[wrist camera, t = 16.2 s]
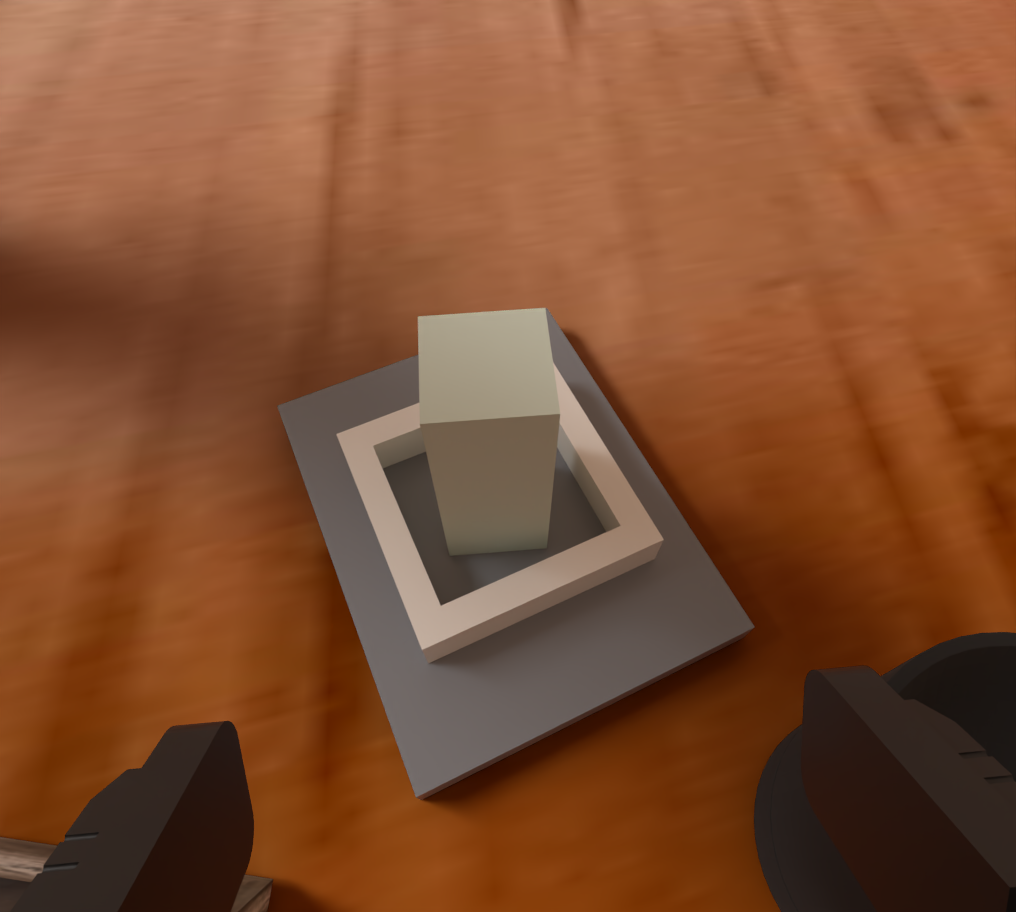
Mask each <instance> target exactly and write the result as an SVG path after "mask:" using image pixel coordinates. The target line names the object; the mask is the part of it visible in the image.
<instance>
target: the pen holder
mask: <svg viewBox="0 0 1016 912" xmlns="http://www.w3.org/2000/svg"><path fill="white" fill-rule="evenodd" d="M881 678H882V679H883V680H884V681H885V682H886V683H887V684H888V685H889V686H890V687H891V688H892V689H893V690H894V691H895V692H896V693H897V694H898V695H899V696H900V697H901V698H902V699H904V700H911V699H915V700H917V701H919V702H920V703H922V704H924V705H926V706H928V707H929V708H931V709H933V710H935V711H937V712H938V713H940V714H942V715H944V716H946V717H947V718H949V719H951V720H953V721H955V722H956V723H957V724H958V725H959V726H960V727H961V728H962V729H963V730H964V731H966V732H967V733H968V734H969V735H970V736H971V737H972V738H973V739H974V740H975V741H976V742H977V743H979V744H980V745H981V746H982V747H983V748H984V749H985V750H986V754H987V756H988V757H990V756H993V757H994V758H995V759H996V760H997V761H998V762H999V763H1000V764H1001V765H1002V766H1003V767H1004V768H1006V769H1007V770H1008V771H1009V772H1010V773H1011V774H1012V776H1013V779H1014V781H1015V782H1016V633H1009V632H997V633H979V634H973V635H967V636H961V637H958V638H955V639H952V640H949V641H946V642H943V643H940V644H938V645H936V646H934V647H932V648H930V649H928V650H926V651H924V652H922V653H920V654H918V655H917V656H915V657H913V658H911V659H910V660H908V661H906V662H904V663H903V664H901V665H899V666H898V667H896V668H894V669H893V670H891V671H889V672H887V673H886V674H884V675H882V676H881ZM801 743H802V725H800V726H799V727H798V728H796V729H795V730H794V731H792V732H791V733H790V734H789V735H788V736H787V737H786V738H785V739H784V740H783V741H782V742H781V743H780V744H779V745H778V746H777V748H776V749H775V751H774V752H773V753H772V755H771V756H770V758H769V760H768V762H767V764H766V766H765V768H764V770H763V772H762V775H761V778H760V781H759V785H758V789H757V794H756V799H755V811H754V827H755V840H756V845H757V851H758V856H759V860H760V863H761V866H762V870H763V873H764V876H765V879H766V881H767V884H768V886H769V888H770V891H771V893H772V895H773V897H774V899H775V901H776V903H777V904H778V906H779V908H780V910H781V912H877V911H876V909H875V908H874V906H873V904H872V903H871V901H870V900H869V898H868V897H867V895H866V893H865V892H864V890H863V889H862V887H861V886H860V884H859V882H858V881H857V879H856V878H855V876H854V875H853V873H852V871H851V870H850V868H849V867H848V865H847V864H846V862H845V860H844V859H843V857H842V856H841V854H840V853H839V851H838V849H837V848H836V846H835V845H834V843H833V842H832V840H831V838H830V837H829V835H828V834H827V832H826V831H825V829H824V827H823V826H822V824H821V823H820V821H819V820H818V818H817V816H816V815H815V813H814V811H813V810H812V808H811V805H810V803H809V801H808V798H807V795H806V792H805V789H804V785H803V780H802V775H801Z"/></svg>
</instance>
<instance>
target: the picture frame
mask: <svg viewBox="0 0 1016 912" xmlns="http://www.w3.org/2000/svg"><path fill="white" fill-rule="evenodd" d="M56 847H57V846H55V845H49V844H42V843H36V842H29V841H23V840H16V839H10V838H3V837H0V912H10V911H11V909H12V908H13V907H14V905H15V904H16V903H17V901H18V900H19V898H20V897H21V896H22V894H23V893H24V891H25V890H26V889H27V887H28V886H29V885H30V883H31V882H32V880H33V879H34V878H35V876H36V875H37V873H42V872H43V865H44V864H45V862H46V861H47V860H48V858H49V857H50V855H51V854H52V853H53V851H54V850H55V849H56ZM272 883H273V879H270V878H263V877H257V876H250V875H244V878H243V881H242V883H241V886H240V889H239V891H238V894H237V897H236V899H235V902H234V905H233V907H232V910H231V912H267V910H268V905H269V899H270V894H271V888H272Z"/></svg>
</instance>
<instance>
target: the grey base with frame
mask: <svg viewBox="0 0 1016 912" xmlns="http://www.w3.org/2000/svg"><path fill="white" fill-rule="evenodd" d="M545 309H546V316H547V323H548V330H549V337H550V345H551V352H552V359H553V366H554V373H555V380H556V387H557V394H558V401H559V408H560V422H559V432H558V442H557V452H556V462H555V472H554V482H553V491H552V501H551V511H550V521H549V531H548V541H547V548H544V549H532V550H519V551H506V552H494V553H481V554H468V555H456V556H449V551H448V547H447V542H446V538H445V534H444V529H443V525H442V520H441V516H440V511H439V507H438V502H437V498H436V494H435V489H434V485H433V480H432V476H431V471H430V467H429V463H428V458H427V454H426V449H425V445H424V440H423V436H422V431H421V427H420V407H419V354H418V355H416V356H413V357H410V358H407V359H405V360H402V361H399V362H396V363H394V364H391V365H388V366H385V367H383V368H380V369H377V370H374V371H371V372H369V373H366V374H363V375H360V376H358V377H355V378H352V379H349V380H347V381H344V382H341V383H338V384H336V385H333V386H330V387H327V388H325V389H322V390H319V391H316V392H314V393H311V394H308V395H305V396H303V397H300V398H297V399H294V400H292V401H289V402H286V403H283V404H281V405H278V406H277V407H278V410H279V412H280V415H281V418H282V421H283V424H284V427H285V429H286V432H287V435H288V438H289V441H290V443H291V446H292V449H293V452H294V455H295V458H296V460H297V463H298V466H299V469H300V472H301V474H302V477H303V480H304V483H305V486H306V489H307V491H308V494H309V497H310V500H311V503H312V505H313V508H314V511H315V514H316V517H317V520H318V522H319V525H320V528H321V531H322V534H323V536H324V539H325V542H326V545H327V548H328V551H329V553H330V556H331V559H332V562H333V565H334V567H335V570H336V573H337V576H338V579H339V581H340V584H341V587H342V590H343V593H344V596H345V598H346V601H347V604H348V607H349V610H350V612H351V615H352V618H353V621H354V624H355V627H356V629H357V632H358V635H359V638H360V641H361V643H362V646H363V649H364V652H365V655H366V658H367V660H368V663H369V666H370V669H371V672H372V674H373V677H374V680H375V683H376V686H377V689H378V691H379V694H380V697H381V700H382V703H383V705H384V708H385V711H386V714H387V717H388V720H389V722H390V725H391V728H392V731H393V734H394V736H395V739H396V742H397V745H398V748H399V751H400V753H401V756H402V759H403V762H404V765H405V767H406V770H407V773H408V776H409V779H410V781H411V784H412V787H413V790H414V793H415V796H416V798H418V799H420V800H423V799H425V798H427V797H429V796H431V795H433V794H434V793H436V792H438V791H440V790H442V789H444V788H446V787H448V786H450V785H452V784H454V783H456V782H458V781H460V780H462V779H464V778H466V777H468V776H470V775H472V774H474V773H476V772H478V771H480V770H482V769H484V768H486V767H488V766H490V765H492V764H494V763H496V762H498V761H500V760H502V759H504V758H506V757H508V756H510V755H512V754H514V753H516V752H518V751H520V750H522V749H524V748H526V747H528V746H530V745H532V744H534V743H536V742H538V741H540V740H542V739H544V738H546V737H548V736H550V735H552V734H554V733H556V732H558V731H560V730H562V729H563V728H565V727H567V726H569V725H571V724H573V723H575V722H577V721H579V720H581V719H583V718H585V717H587V716H589V715H591V714H593V713H595V712H597V711H599V710H601V709H603V708H605V707H607V706H609V705H611V704H613V703H615V702H617V701H619V700H621V699H623V698H625V697H627V696H629V695H631V694H633V693H635V692H637V691H639V690H641V689H643V688H645V687H647V686H649V685H651V684H653V683H655V682H657V681H659V680H661V679H663V678H665V677H667V676H669V675H671V674H673V673H675V672H677V671H679V670H681V669H683V668H685V667H687V666H689V665H691V664H693V663H694V662H696V661H698V660H700V659H702V658H704V657H706V656H708V655H710V654H712V653H714V652H716V651H718V650H720V649H722V648H724V647H726V646H728V645H730V644H732V643H734V642H736V641H738V640H740V639H742V638H744V637H745V636H746V635H747V634H748V633H749V632H750V631H751V630H752V629H754V628H755V627H754V625H753V623H752V622H751V620H750V619H749V617H748V616H747V614H746V613H745V611H744V610H743V608H742V607H741V605H740V604H739V602H738V600H737V599H736V597H735V596H734V594H733V593H732V591H731V590H730V588H729V587H728V585H727V584H726V582H725V580H724V579H723V577H722V576H721V574H720V573H719V571H718V570H717V568H716V567H715V565H714V564H713V562H712V561H711V559H710V557H709V556H708V554H707V553H706V551H705V550H704V548H703V547H702V545H701V544H700V542H699V541H698V539H697V537H696V536H695V534H694V533H693V531H692V530H691V528H690V527H689V525H688V524H687V522H686V521H685V519H684V518H683V516H682V514H681V513H680V511H679V510H678V508H677V507H676V505H675V504H674V502H673V501H672V499H671V498H670V496H669V495H668V493H667V491H666V490H665V488H664V487H663V485H662V484H661V482H660V481H659V479H658V478H657V476H656V475H655V473H654V471H653V470H652V468H651V467H650V465H649V464H648V462H647V461H646V459H645V458H644V456H643V455H642V453H641V452H640V450H639V448H638V447H637V445H636V444H635V442H634V441H633V439H632V438H631V436H630V435H629V433H628V432H627V430H626V428H625V427H624V425H623V424H622V422H621V421H620V419H619V418H618V416H617V415H616V413H615V412H614V410H613V409H612V407H611V405H610V404H609V402H608V401H607V399H606V398H605V396H604V395H603V393H602V392H601V390H600V389H599V387H598V386H597V384H596V382H595V381H594V379H593V378H592V376H591V375H590V373H589V372H588V370H587V369H586V367H585V366H584V364H583V362H582V361H581V359H580V358H579V356H578V355H577V353H576V352H575V350H574V349H573V347H572V346H571V344H570V343H569V341H568V339H567V338H566V336H565V335H564V333H563V332H562V330H561V329H560V327H559V326H558V324H557V323H556V321H555V319H554V318H553V316H552V315H551V313H550V312H549V310H548V309H547V308H545Z"/></svg>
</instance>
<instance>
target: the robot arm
mask: <svg viewBox="0 0 1016 912" xmlns="http://www.w3.org/2000/svg"><path fill="white" fill-rule="evenodd" d="M801 775H802V780H803V785H804V789H805V792H806V795H807V798H808V801H809V803H810V805H811V808H812V810H813V811H814V813H815V815H816V816H817V818H818V820H819V821H820V823H821V824H822V826H823V827H824V829H825V831H826V832H827V834H828V835H829V837H830V838H831V840H832V842H833V843H834V845H835V846H836V848H837V849H838V851H839V853H840V854H841V856H842V857H843V859H844V860H845V862H846V864H847V865H848V867H849V868H850V870H851V871H852V873H853V875H854V876H855V878H856V879H857V881H858V882H859V884H860V886H861V887H862V889H863V890H864V892H865V893H866V895H867V897H868V898H869V900H870V901H871V903H872V904H873V906H874V908H875V909H876V911H877V912H1016V782H1015V781H1014V779H1013V776H1012V774H1011V773H1010V772H1009V771H1008V770H1007V769H1006V768H1004V767H1003V766H1002V765H1001V764H1000V763H999V762H998V761H997V760H996V759H995V758H994V757H993V756H990V757H988V756H987V754H986V750H985V749H984V748H983V747H982V746H981V745H980V744H979V743H977V742H976V741H975V740H974V739H973V738H972V737H971V736H970V735H969V734H968V733H967V732H966V731H964V730H963V729H962V728H961V727H960V726H959V725H958V724H957V723H956V722H955V721H953V720H951V719H949V718H947V717H946V716H944V715H942V714H940V713H938V712H937V711H935V710H933V709H931V708H929V707H928V706H926V705H924V704H922V703H920V702H919V701H917V700H915V699H911V700H904V699H902V698H901V697H900V696H899V695H898V694H897V693H896V692H895V691H894V690H893V689H892V688H891V687H890V686H889V685H888V684H887V683H886V682H885V681H884V680H883V679H882V678H881V677H880V676H879V675H878V674H877V673H876V672H875V671H874V670H873V669H871V668H870V667H868V666H864V665H863V666H852V667H841V668H830V669H819V670H811V671H810V672H809V673H808V674H807V677H806V680H805V686H804V705H803V724H802V743H801ZM253 836H254V819H253V811H252V805H251V800H250V795H249V790H248V785H247V780H246V775H245V770H244V765H243V760H242V755H241V750H240V744H239V739H238V735H237V731H236V729H235V726H234V725H233V724H232V722H230V721H222V722H211V723H200V724H189V725H178V726H172V727H170V728H169V729H168V730H167V731H166V733H165V734H164V735H163V737H162V738H161V740H160V741H159V743H158V744H157V746H156V747H155V749H154V750H153V752H152V753H151V755H150V756H149V758H148V759H147V761H146V762H145V764H144V765H143V767H142V768H139V769H128V770H126V771H125V772H124V773H123V774H121V775H120V776H119V777H118V778H117V779H115V780H114V781H113V782H112V783H111V784H109V785H108V786H107V787H106V788H105V789H103V790H102V791H101V792H100V793H98V794H97V795H96V796H95V797H94V798H92V799H91V800H90V801H89V803H88V804H87V806H86V807H85V808H84V810H83V811H82V812H81V814H80V815H79V817H78V818H77V819H76V821H75V822H74V824H73V825H72V826H71V828H70V829H69V830H68V832H67V833H66V835H65V841H64V842H60V843H59V844H58V846H57V847H56V849H55V850H54V851H53V853H52V854H51V855H50V857H49V858H48V860H47V861H46V862H45V864H44V865H43V872H42V873H37V875H36V876H35V878H34V879H33V880H32V882H31V883H30V885H29V886H28V887H27V889H26V890H25V891H24V893H23V894H22V896H21V897H20V898H19V900H18V901H17V903H16V904H15V905H14V907H13V908H12V909H11V911H10V912H231V910H232V907H233V905H234V902H235V899H236V897H237V894H238V891H239V889H240V886H241V883H242V881H243V878H244V875H245V873H246V870H247V867H248V864H249V861H250V857H251V852H252V846H253Z"/></svg>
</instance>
